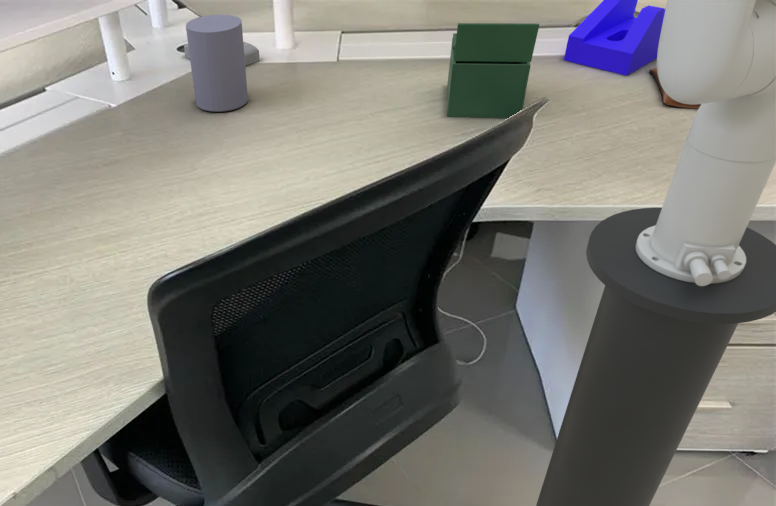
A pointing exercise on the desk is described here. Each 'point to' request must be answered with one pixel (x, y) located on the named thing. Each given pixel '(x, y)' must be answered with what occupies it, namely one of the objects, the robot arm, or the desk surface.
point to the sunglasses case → (669, 100)
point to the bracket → (616, 37)
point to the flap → (495, 42)
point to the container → (217, 62)
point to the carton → (485, 87)
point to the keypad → (249, 53)
